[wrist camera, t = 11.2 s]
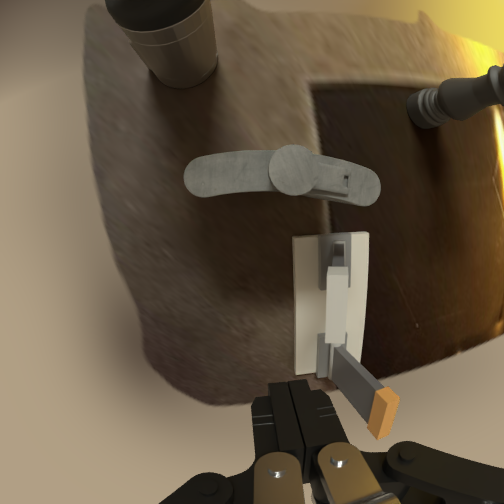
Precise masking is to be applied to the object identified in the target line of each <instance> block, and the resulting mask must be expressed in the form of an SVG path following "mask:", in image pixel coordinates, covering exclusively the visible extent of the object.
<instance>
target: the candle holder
mask: <svg viewBox="0 0 504 504" xmlns="http://www.w3.org/2000/svg"><path fill="white" fill-rule="evenodd" d="M496 104H501V105H502V106H504V65H503V67H499V66H496V65H495V66H492V67H490V68H489V70H488V74H486V75H483V76H480V77H477V78H450V79H447V80H445V81H443V82H442V83H441V85H440V86H439V88H438V89H437V88H430V89H427V88H426V89H423V90H421V91H419V92H416V93H414V94H412V95H410V97H409V98H408V100H407V111H408V114H409V116H410V118H411V120H412V121H413V122H414V123H415V124H416V125H417V126H419V127H420V128H424V129H429V128H433V127H437V126H440V125H442V124H444V123H446V122H448V121H449V120H450V118H453V119H455V120H461V121H463V120H466V119H468V118H470V117H472V116H473V115H475V114H476V113H478V112H479V111H481V110H482V109H484V108H486V107H487V106H492V105H496Z"/></svg>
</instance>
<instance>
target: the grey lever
mask: <svg viewBox="0 0 504 504" xmlns="http://www.w3.org/2000/svg"><path fill="white" fill-rule="evenodd" d="M347 301H348V267H345V240H334V241H333V262H332V267H328V271H327V299H326V330H325V343H338V344H345V333H346V319H347Z"/></svg>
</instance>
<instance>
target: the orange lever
mask: <svg viewBox="0 0 504 504" xmlns="http://www.w3.org/2000/svg"><path fill="white" fill-rule="evenodd" d="M328 379H329V380H332V381H333V382H334V383H335V384H336V386H337V387H338V388H339V389H340V391H341V392H342V393H343V394H344V396H345V397H346V398H347V399H348V401H349V402H350V403H351V404H352V405H353V407H354V408H355V409H356V410H357V412H358V413H359V414H360V415H361V417H362V418H363V419H364V420H365V421H366V422H367V424H368V426H367V428H368V430H369V431H370V432H371V433H372V434H373V436H374V437H375V438H376V439H377V440H379V439H381V438H383V437H385V436H387V435H389V433H390V430H391V427H392V424H393V421H394V418H395V414H396V411H397V408H398V404H399V400H400V397H399V396H398V395H396V394H395V393H394V392H393V391H392V390H391V389H390V388H389V387H384V386H383V385H382V384H380V382H379V381H378V380H377V379H376V378H374V377H373V376H372V375H371V374H370V373H369V372H368V371H367V370H366V369H365V368H364V367H363V366H362V365H361V364H360V363H359V362H358V361H357V360H356V359H355V358H354V357H353V356H352V355H351V354H350V353H349V352H348V351H347V350H346V349H345V348H344V347H343V346H342V345H341V344H338V343H331V345H330V360H329V373H328Z"/></svg>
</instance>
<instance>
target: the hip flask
mask: <svg viewBox="0 0 504 504" xmlns="http://www.w3.org/2000/svg"><path fill="white" fill-rule="evenodd" d="M184 183H185V186H186V188H187V189H188V190H189V192H190V193H192V194H193V195H195V196H197V197H203V198H205V197H212V196H217V195H223V194H230V193H240V192H255V191H278V192H281V193H284V194H287V195H292V196H293V195H295V196H296V195H303V196H307V197H311V198H317V199H323V200H330V201H336V202H342V203H348V204H353V205H359V206H369V205H371V204H373V203H374V202H375V201H376V200H377V199H378V197H379V194H380V190H381V185H380V181H379V178H378V176H377V175H376V174H375V173H374V172H373V171H372V170H370V169H368V168H365V167H363V166H360V165H357V164H354V163H351V162H348V161H344V160H340V159H336V158H332V157H327V156H322V155H317V154H313V153H312V152H311V151H309V150H308V149H307V148H305V147H303V146H300V145H294V144H292V145H287V146H283V147H282V148H280V149H278V150H249V151H234V152H225V153H218V154H212V155H207V156H201V157H198V158H196V159H194V160H192V161H191V162H190V163H189V164H188V165H187V167H186V169H185V172H184Z"/></svg>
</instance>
